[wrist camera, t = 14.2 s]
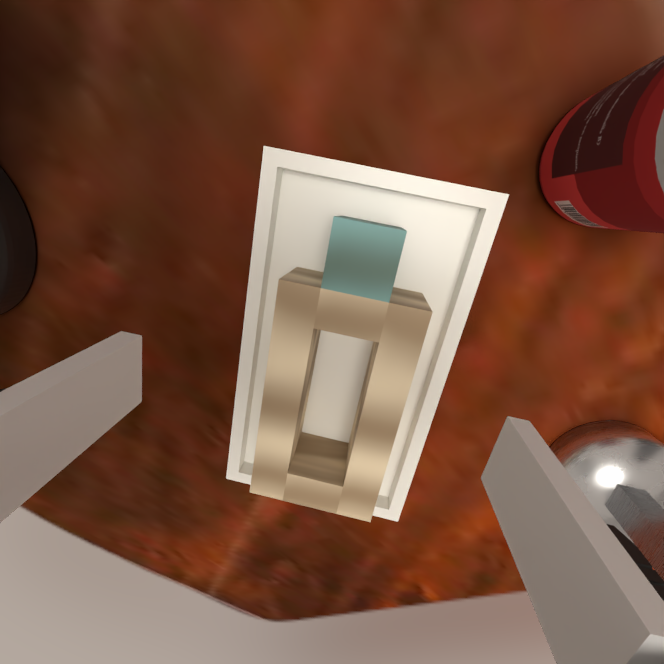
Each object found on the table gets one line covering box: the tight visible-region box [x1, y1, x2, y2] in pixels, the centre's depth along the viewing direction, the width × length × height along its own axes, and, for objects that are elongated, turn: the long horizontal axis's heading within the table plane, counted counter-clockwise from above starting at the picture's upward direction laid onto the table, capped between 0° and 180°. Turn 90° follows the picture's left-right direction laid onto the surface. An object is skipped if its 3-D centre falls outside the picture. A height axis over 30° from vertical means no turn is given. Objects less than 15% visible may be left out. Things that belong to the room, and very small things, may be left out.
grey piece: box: [549, 421, 664, 581], centre depth 23 cm, size 9×9×11 cm
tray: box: [226, 146, 509, 522], centre depth 27 cm, size 15×26×2 cm, turn 169°
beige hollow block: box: [250, 215, 433, 522], centre depth 25 cm, size 20×9×5 cm, turn 169°
